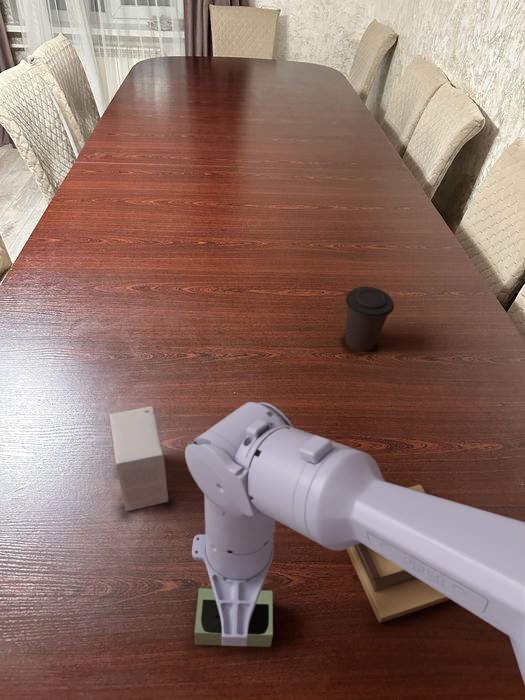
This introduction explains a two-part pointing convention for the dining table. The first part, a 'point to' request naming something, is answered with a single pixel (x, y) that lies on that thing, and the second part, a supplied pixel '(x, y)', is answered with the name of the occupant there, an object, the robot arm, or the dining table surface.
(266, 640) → the green rectangular block
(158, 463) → the small box
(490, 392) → the dining table surface
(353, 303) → the coffee cup
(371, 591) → the wooden base with frame
